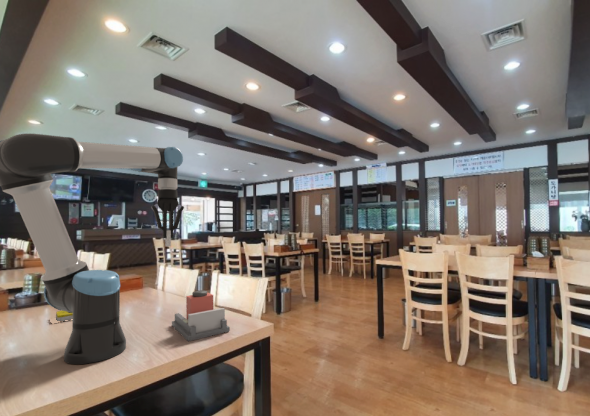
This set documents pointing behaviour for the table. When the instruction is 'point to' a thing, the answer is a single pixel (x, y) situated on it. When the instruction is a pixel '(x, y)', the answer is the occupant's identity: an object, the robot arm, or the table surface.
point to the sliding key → (199, 302)
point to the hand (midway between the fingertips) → (168, 246)
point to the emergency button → (63, 315)
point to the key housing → (201, 324)
